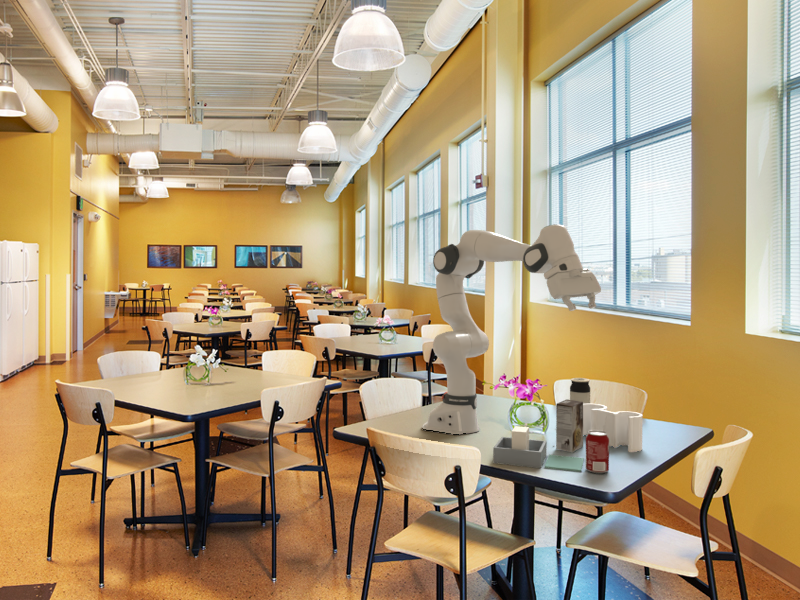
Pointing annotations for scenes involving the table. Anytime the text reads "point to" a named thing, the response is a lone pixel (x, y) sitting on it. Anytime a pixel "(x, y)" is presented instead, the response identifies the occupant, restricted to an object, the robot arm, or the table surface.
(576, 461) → the mat
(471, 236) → the robot arm
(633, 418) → the bracket
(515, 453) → the parts bin
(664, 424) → the table surface
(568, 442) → the coffee box
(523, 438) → the label box
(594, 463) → the soda can
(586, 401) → the travel mug
